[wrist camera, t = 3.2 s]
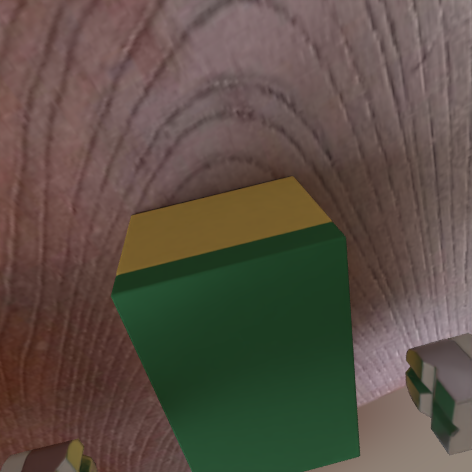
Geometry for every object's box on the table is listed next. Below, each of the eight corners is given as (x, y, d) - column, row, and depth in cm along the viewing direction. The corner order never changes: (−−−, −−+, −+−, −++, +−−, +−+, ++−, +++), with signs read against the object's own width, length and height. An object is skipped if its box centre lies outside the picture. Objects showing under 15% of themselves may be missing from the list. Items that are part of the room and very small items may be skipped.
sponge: (130, 215, 11) (109, 295, 7) (293, 175, 11) (347, 236, 8) (197, 391, 15) (203, 499, 11) (317, 360, 15) (360, 457, 11)
